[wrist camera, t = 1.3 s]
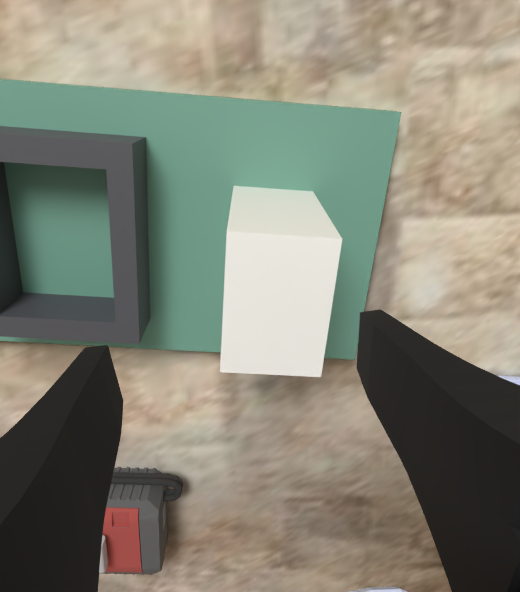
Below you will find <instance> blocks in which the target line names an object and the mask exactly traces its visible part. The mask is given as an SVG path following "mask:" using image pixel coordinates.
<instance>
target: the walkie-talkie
mask: <svg viewBox="0 0 520 592" xmlns="http://www.w3.org/2000/svg"><path fill="white" fill-rule="evenodd" d="M166 486H170V487H173V488H174V489H171V490H168V489H166ZM182 487H183V482H182V480H181V479H180V478H179V477H178V476H175V475H171V474H163V473H161V472H160V471H158V470H157V469H156V468H154V469H148V468H145V469H139V468H135V469H130V467H127V468H121V467H118V468H114V471H113V476H112V481H111V486H110V491H109V496H108V501H107V506H106V512H105V518H104V525H103V535H102V545H101V556H100V567H99V574H100V573H106V574H109V573H114V574H150V575H152V574H154V573H157V572H160V571H161V570H162V564H163V559H164V553H165V548H166V542H167V537H168V521H167V501H174V500H176V499H178V498H179V497H180V495H181V493H182Z"/></svg>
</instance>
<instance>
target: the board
mask: <svg viewBox="0 0 520 592" xmlns="http://www.w3.org/2000/svg"><path fill="white" fill-rule="evenodd" d="M400 116H401V112H397V111H387V110H375V109H362V108H350V107H338V106H326V105H313V104H301V103H289V102H277V101H264V100H252V99H240V98H228V97H215V96H203V95H191V94H179V93H166V92H154V91H142V90H129V89H117V88H105V87H93V86H80V85H68V84H56V83H44V82H31V81H19V80H7V79H0V341H13V342H32V343H51V344H70V345H89V346H103V345H108V347H126V348H145V349H164V350H183V351H202V352H220V353H221V341H222V320H223V299H224V277H225V256H226V235H227V226H228V219H229V213H230V206H231V200H232V193H233V187H234V186H244V187H258V188H272V189H286V190H300V191H313V192H314V194H315V196H316V197H317V199H318V200H319V202H320V204H321V205H322V207H323V208H324V210H325V212H326V213H327V215H328V217H329V218H330V220H331V221H332V223H333V225H334V226H335V228H336V229H337V231H338V233H339V234H340V236H341V238H342V245H341V251H340V258H339V264H338V270H337V277H336V283H335V290H334V296H333V303H332V309H331V316H330V322H329V329H328V335H327V342H326V348H325V354H324V358H334V359H352V360H355V356H356V351H357V346H358V338H359V321H360V312H364V308H365V303H366V298H367V292H368V287H369V282H370V276H371V271H372V266H373V260H374V255H375V250H376V244H377V239H378V234H379V228H380V223H381V217H382V212H383V207H384V201H385V196H386V191H387V185H388V180H389V175H390V169H391V164H392V159H393V153H394V148H395V143H396V137H397V132H398V127H399V121H400Z"/></svg>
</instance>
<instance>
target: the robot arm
mask: <svg viewBox="0 0 520 592" xmlns="http://www.w3.org/2000/svg"><path fill="white" fill-rule="evenodd" d="M357 370H358V373H359V376H360V378H361V381H362V384H363V387H364V389H365V392H366V394H367V397H368V399H369V401H370V403H371V405H372V407H373V409H374V410H375V412H376V414H377V416H378V418H379V420H380V422H381V424H382V425H383V427H384V429H385V431H386V433H387V435H388V437H389V438H390V440H391V442H392V444H393V446H394V448H395V450H396V451H397V453H398V455H399V457H400V459H401V461H402V463H403V465H404V467H405V469H406V471H407V473H408V476H409V478H410V481H411V483H412V485H413V488H414V490H415V493H416V495H417V498H418V500H419V503H420V505H421V508H422V510H423V513H424V515H425V518H426V521H427V523H428V526H429V528H430V531H431V534H432V536H433V539H434V542H435V544H436V547H437V550H438V553H439V556H440V558H441V561H442V564H443V567H444V570H445V572H446V575H447V578H448V581H449V584H450V587H451V590H452V592H520V377H514V376H496V375H494V374H492V373H489V372H487V371H485V370H483V369H481V368H478V367H476V366H474V365H472V364H470V363H468V362H466V361H465V360H463V359H461V358H459V357H457V356H455V355H453V354H452V353H450V352H448V351H446V350H445V349H443V348H441V347H439V346H438V345H436V344H434V343H433V342H431V341H429V340H428V339H426V338H425V337H423V336H421V335H420V334H418V333H417V332H415V331H413V330H412V329H410V328H409V327H407V326H406V325H404V324H403V323H401V322H400V321H398V320H396V319H395V318H393V317H392V316H390V315H389V314H387V313H385V312H384V311H382V310H374V311H366V312H360V321H359V338H358V354H357ZM122 413H123V398H122V395H121V391H120V387H119V384H118V380H117V377H116V373H115V369H114V366H113V362H112V359H111V355H110V352H109V348H108V345H103V346H95V347H87V348H85V349H84V350H83V351H82V352H81V353H80V354H79V355H78V357H77V358H76V359H75V360H74V361H73V362H72V364H71V365H70V366H69V367H68V368H67V369H66V371H65V372H64V373H63V374H62V375H61V377H60V378H59V379H58V380H57V381H56V382H55V383H54V385H53V386H52V387H51V388H50V389H49V390H48V391H47V393H46V394H45V395H44V396H43V397H42V398H41V399H40V400H39V401H38V402H37V403H36V404H35V405H34V406H33V407H32V408H31V409H30V410H29V411H28V412H27V413H26V414H25V416H24V417H23V418H22V419H21V420H20V421H19V422H18V423H17V424H16V425H14V426H13V427H12V428H11V429H10V430H9V431H8V432H7V433H6V434H5V435H4V436H3V437H1V438H0V592H98V580H99V567H100V556H101V545H102V535H103V525H104V518H105V512H106V506H107V501H108V496H109V491H110V486H111V481H112V476H113V471H114V466H115V462H116V457H117V452H118V447H119V441H120V436H121V428H122ZM347 592H408V591H405V590H403V589H401V588H398V587H396V586H387V587H368V588H363V589H358V590H352V591H347Z"/></svg>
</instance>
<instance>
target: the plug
mask: <svg viewBox="0 0 520 592" xmlns="http://www.w3.org/2000/svg"><path fill="white" fill-rule="evenodd" d="M341 245H342V238H341V236H340V234H339V233H338V231H337V229H336V228H335V226H334V225H333V223H332V221H331V220H330V218H329V217H328V215H327V213H326V212H325V210H324V208H323V207H322V205H321V204H320V202H319V200H318V199H317V197H316V196H315V194H314V192H313V191H300V190H286V189H272V188H258V187H244V186H234V187H233V193H232V200H231V206H230V213H229V219H228V226H227V235H226V256H225V277H224V299H223V320H222V341H221V362H220V372H229V373H248V374H268V375H288V376H307V377H321V374H322V367H323V361H324V354H325V348H326V342H327V335H328V329H329V322H330V316H331V309H332V303H333V296H334V290H335V283H336V277H337V270H338V264H339V258H340V251H341Z"/></svg>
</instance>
